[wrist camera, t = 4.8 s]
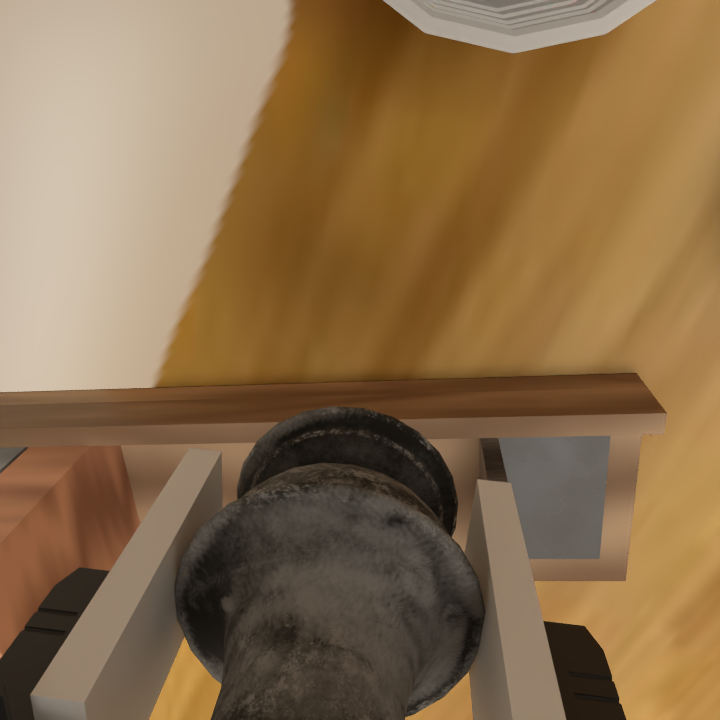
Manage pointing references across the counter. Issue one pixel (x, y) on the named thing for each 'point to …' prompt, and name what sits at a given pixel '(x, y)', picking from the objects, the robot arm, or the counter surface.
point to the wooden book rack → (239, 435)
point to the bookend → (553, 490)
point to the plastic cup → (517, 20)
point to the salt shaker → (333, 576)
